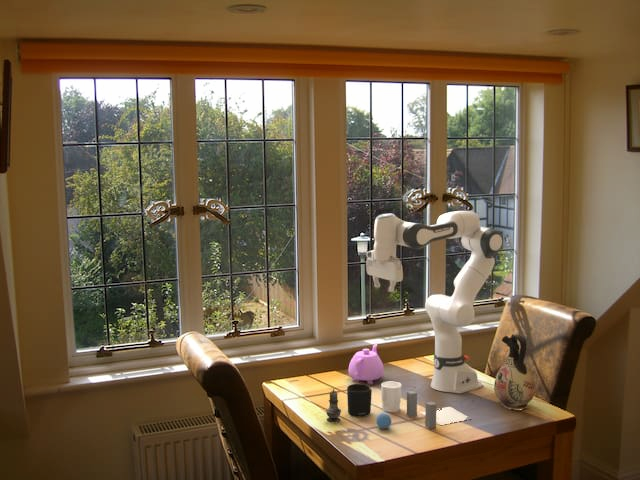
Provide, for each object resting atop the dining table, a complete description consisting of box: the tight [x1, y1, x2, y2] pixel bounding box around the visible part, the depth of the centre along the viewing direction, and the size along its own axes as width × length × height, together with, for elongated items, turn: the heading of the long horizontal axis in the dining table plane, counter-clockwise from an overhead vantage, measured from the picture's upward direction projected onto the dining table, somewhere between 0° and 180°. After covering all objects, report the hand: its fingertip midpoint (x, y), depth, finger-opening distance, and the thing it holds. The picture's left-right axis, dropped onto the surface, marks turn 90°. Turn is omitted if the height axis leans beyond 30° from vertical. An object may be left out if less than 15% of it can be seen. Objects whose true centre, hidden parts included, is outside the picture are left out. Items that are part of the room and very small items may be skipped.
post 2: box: [424, 401, 437, 430], centre depth 252 cm, size 3×3×9 cm
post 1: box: [406, 390, 418, 418], centre depth 264 cm, size 3×3×9 cm
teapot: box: [348, 343, 385, 385], centre depth 306 cm, size 22×16×14 cm
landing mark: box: [419, 406, 468, 426], centre depth 263 cm, size 14×14×1 cm
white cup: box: [380, 380, 402, 413], centre depth 270 cm, size 8×8×10 cm
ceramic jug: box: [493, 334, 536, 410], centre depth 270 cm, size 17×15×30 cm
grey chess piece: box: [325, 389, 342, 423], centre depth 259 cm, size 6×6×12 cm
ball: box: [375, 412, 392, 429], centre depth 251 cm, size 6×6×6 cm
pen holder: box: [346, 383, 373, 418], centre depth 266 cm, size 9×9×10 cm
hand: (384, 289), depth 274 cm, fingers open, 8 cm apart
